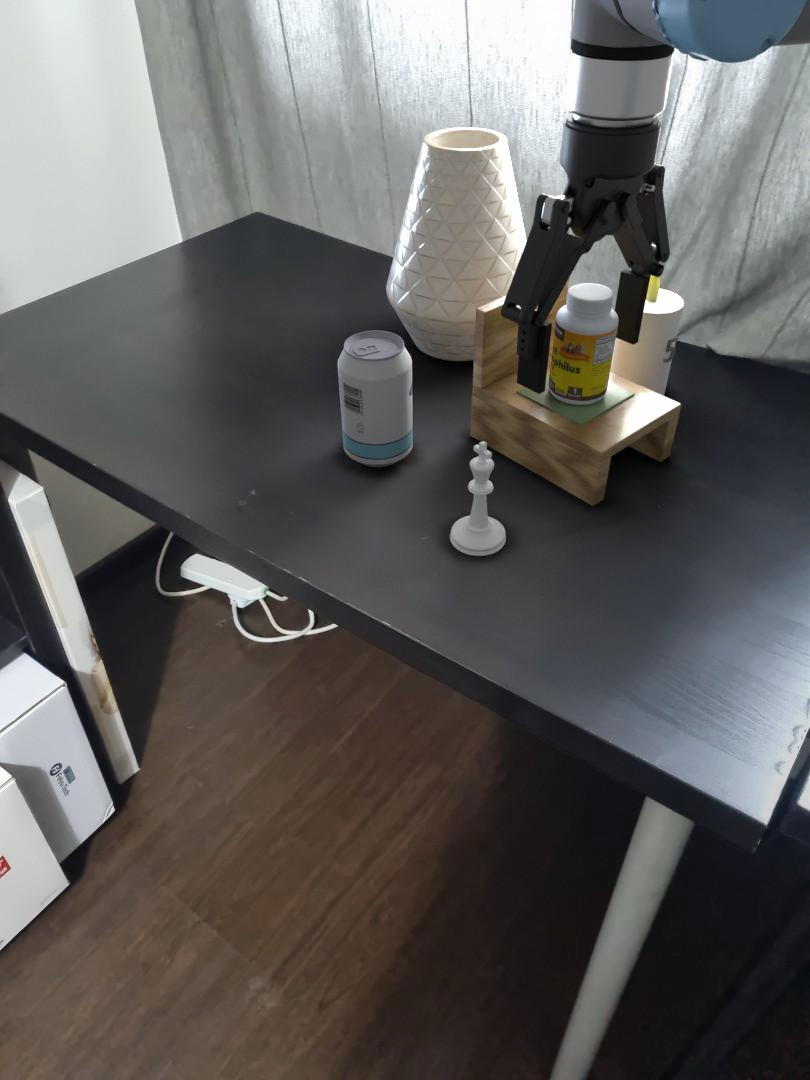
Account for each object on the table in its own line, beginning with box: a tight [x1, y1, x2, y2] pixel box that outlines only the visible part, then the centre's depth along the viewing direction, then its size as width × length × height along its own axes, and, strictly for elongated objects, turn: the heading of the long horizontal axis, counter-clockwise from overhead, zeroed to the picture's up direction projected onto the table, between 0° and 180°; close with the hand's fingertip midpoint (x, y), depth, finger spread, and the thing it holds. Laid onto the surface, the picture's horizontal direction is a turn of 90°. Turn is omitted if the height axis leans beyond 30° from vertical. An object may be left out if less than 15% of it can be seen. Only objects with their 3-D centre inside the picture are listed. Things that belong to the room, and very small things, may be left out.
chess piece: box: [449, 441, 507, 557], centre depth 70 cm, size 5×5×10 cm
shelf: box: [470, 276, 682, 507], centre depth 79 cm, size 16×12×14 cm
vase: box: [385, 126, 527, 362], centre depth 94 cm, size 17×17×23 cm
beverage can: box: [337, 330, 414, 468], centre depth 79 cm, size 7×7×12 cm
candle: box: [610, 262, 685, 396], centre depth 87 cm, size 6×6×15 cm
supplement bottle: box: [549, 282, 618, 405], centre depth 76 cm, size 6×6×10 cm
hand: (579, 362), depth 78 cm, fingers open, 13 cm apart
